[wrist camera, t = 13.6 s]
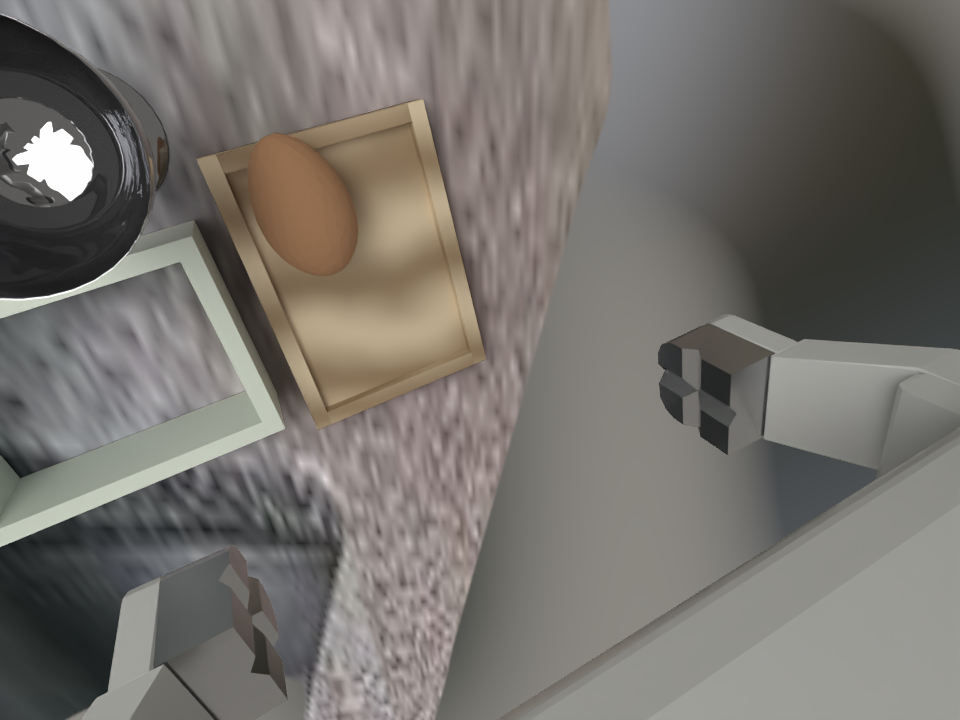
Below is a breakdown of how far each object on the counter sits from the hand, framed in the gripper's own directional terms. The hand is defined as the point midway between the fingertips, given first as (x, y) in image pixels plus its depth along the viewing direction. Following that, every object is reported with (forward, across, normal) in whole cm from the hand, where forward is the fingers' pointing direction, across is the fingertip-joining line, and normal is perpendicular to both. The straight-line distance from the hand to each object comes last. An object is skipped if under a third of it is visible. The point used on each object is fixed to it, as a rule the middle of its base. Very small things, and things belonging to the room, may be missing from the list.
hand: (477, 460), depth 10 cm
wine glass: (+28, +8, -5) cm, 30 cm away
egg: (+24, -1, +4) cm, 25 cm away
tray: (+28, -3, +6) cm, 29 cm away
